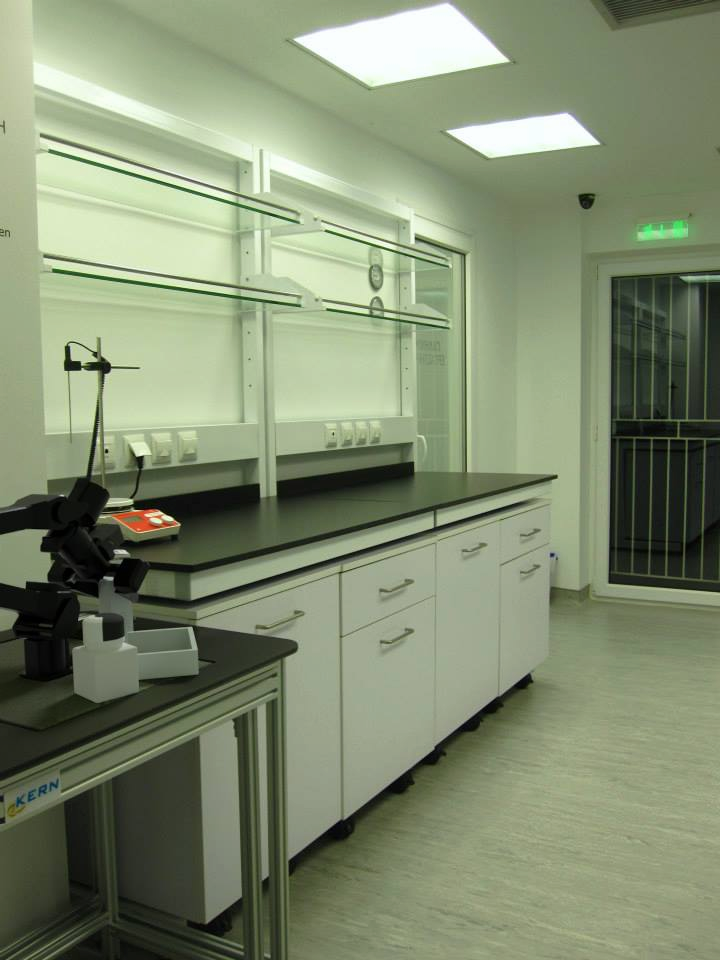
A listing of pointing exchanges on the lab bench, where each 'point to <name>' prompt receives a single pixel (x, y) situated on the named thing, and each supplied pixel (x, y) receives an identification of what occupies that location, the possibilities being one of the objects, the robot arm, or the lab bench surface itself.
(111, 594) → the skincare box
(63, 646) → the robot arm
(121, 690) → the medicine bottle
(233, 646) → the lab bench surface
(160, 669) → the open box
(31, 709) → the lab bench surface
